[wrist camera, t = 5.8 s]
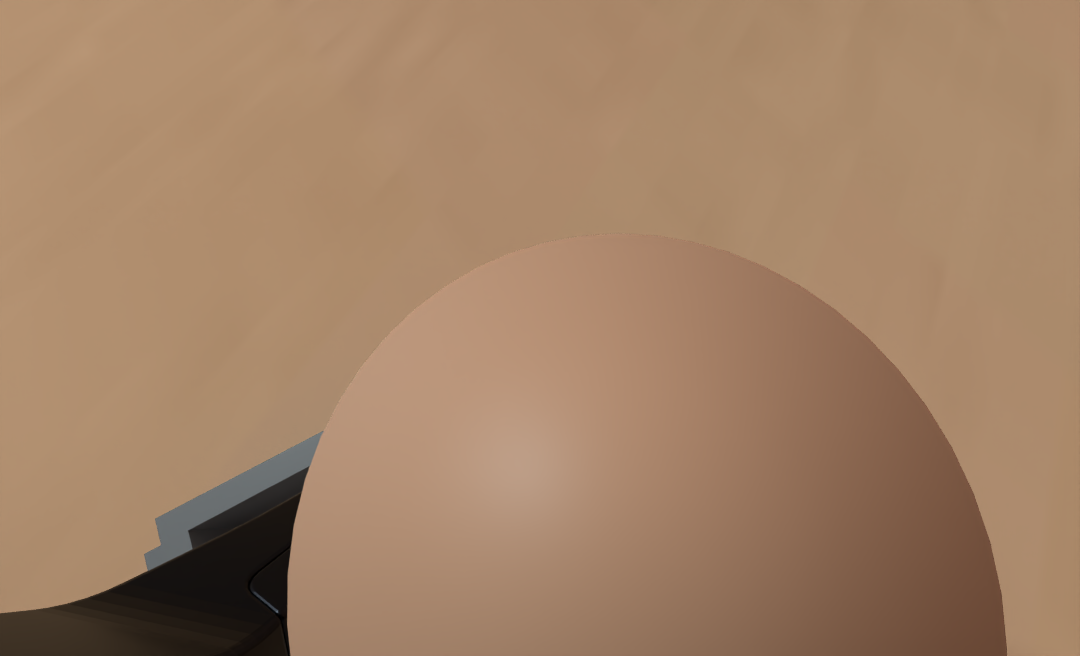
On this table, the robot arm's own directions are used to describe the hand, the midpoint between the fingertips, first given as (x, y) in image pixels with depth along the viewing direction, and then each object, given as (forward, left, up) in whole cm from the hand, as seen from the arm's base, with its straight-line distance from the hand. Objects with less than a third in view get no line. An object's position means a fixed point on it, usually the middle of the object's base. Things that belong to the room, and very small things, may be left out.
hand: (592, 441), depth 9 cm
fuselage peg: (-1, +1, -7) cm, 7 cm away
